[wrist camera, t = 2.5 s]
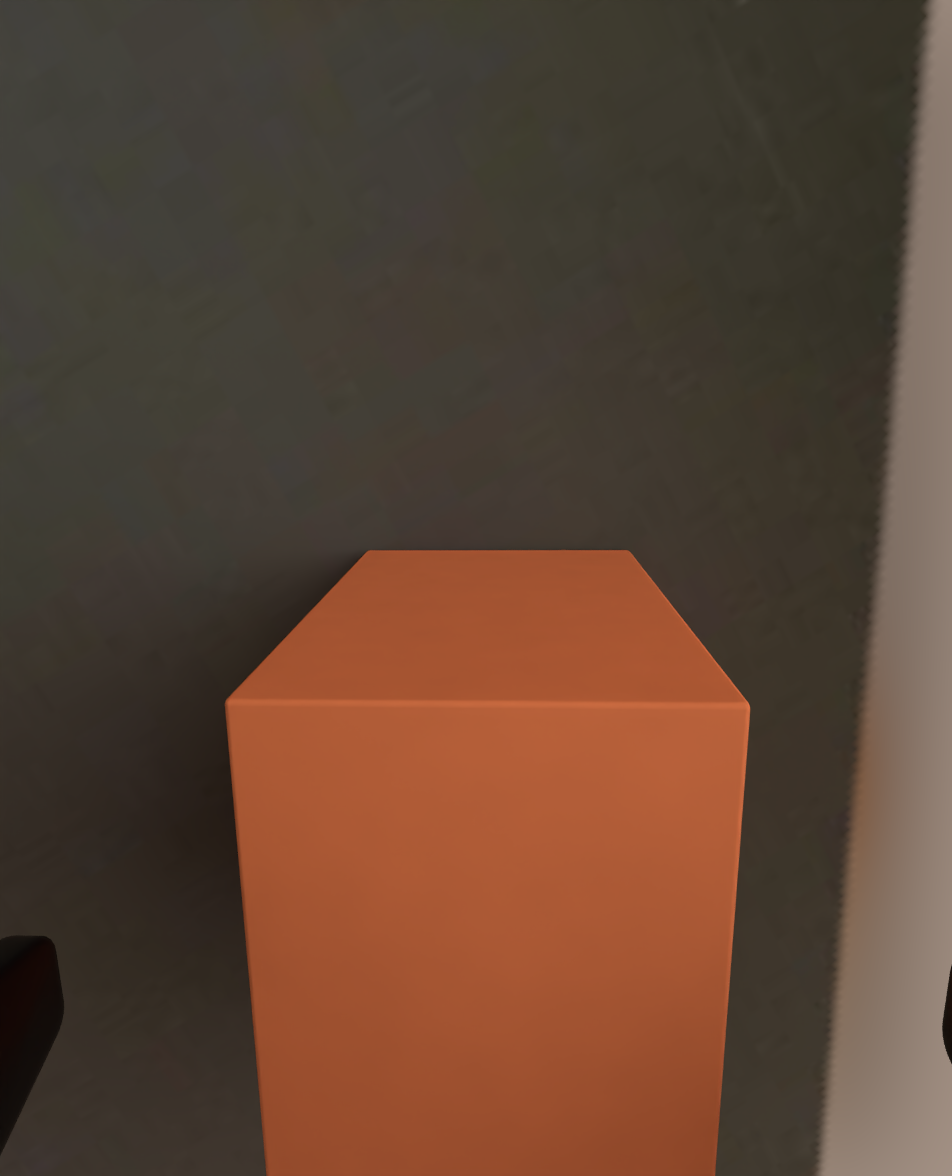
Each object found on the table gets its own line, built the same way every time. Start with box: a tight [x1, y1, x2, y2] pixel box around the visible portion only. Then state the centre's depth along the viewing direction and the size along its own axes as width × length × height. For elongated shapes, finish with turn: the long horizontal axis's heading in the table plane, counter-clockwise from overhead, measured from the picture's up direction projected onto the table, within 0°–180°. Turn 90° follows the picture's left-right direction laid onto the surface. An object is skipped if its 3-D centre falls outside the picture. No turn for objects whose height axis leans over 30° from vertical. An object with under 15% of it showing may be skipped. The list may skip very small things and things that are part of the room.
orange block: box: [225, 550, 750, 1176], centre depth 11 cm, size 6×4×7 cm
